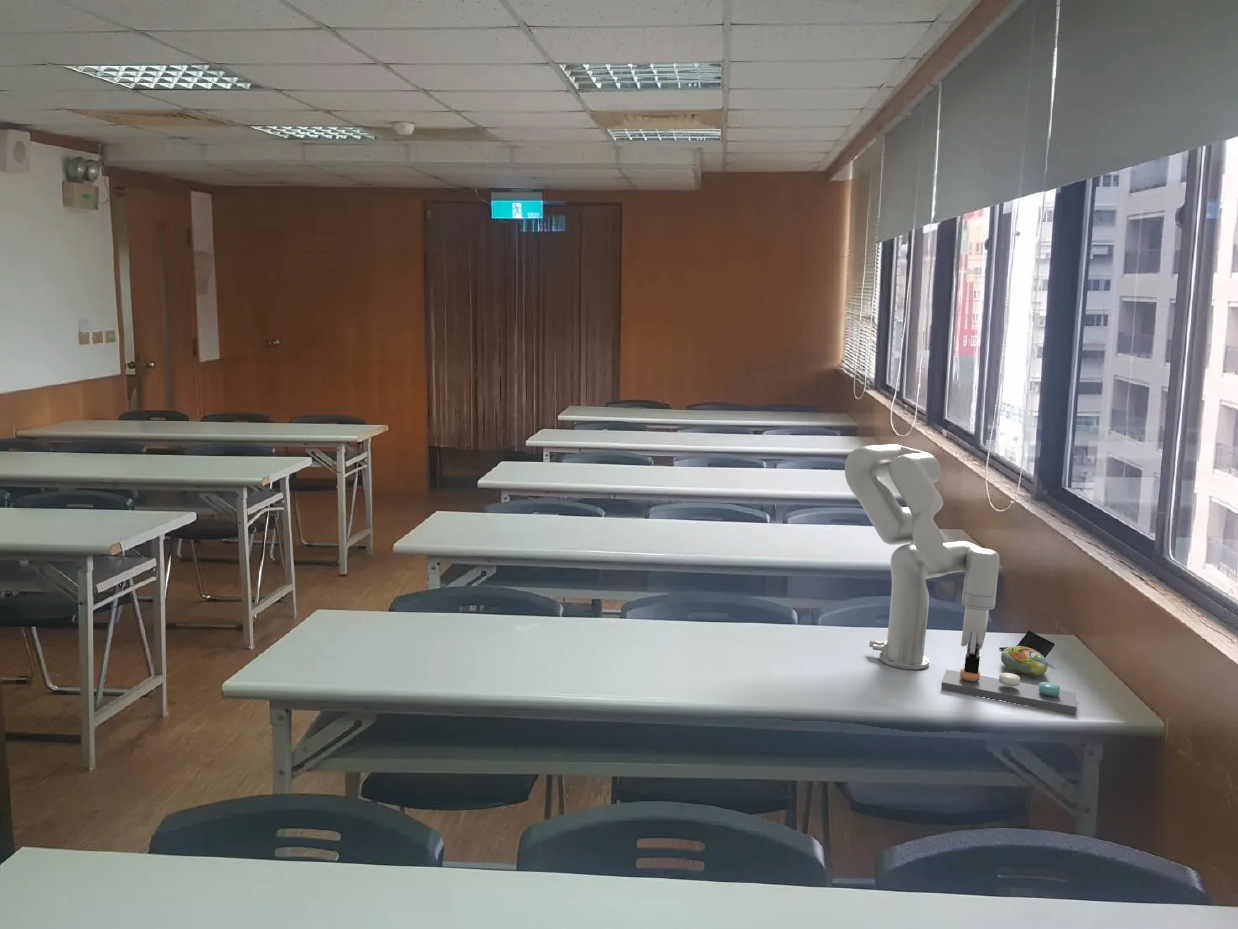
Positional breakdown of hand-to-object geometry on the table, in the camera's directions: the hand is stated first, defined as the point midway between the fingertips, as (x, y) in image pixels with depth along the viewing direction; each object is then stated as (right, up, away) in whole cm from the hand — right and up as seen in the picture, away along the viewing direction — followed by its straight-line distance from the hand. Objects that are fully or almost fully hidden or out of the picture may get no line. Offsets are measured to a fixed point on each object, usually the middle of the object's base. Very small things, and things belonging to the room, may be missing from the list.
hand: (971, 671), depth 248 cm
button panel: (+8, -5, -3) cm, 10 cm away
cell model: (+19, -3, +15) cm, 25 cm away
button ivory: (+8, -2, -3) cm, 9 cm away
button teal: (+16, -3, -6) cm, 18 cm away
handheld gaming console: (+24, -2, +27) cm, 36 cm away
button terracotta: (0, -2, 0) cm, 2 cm away
